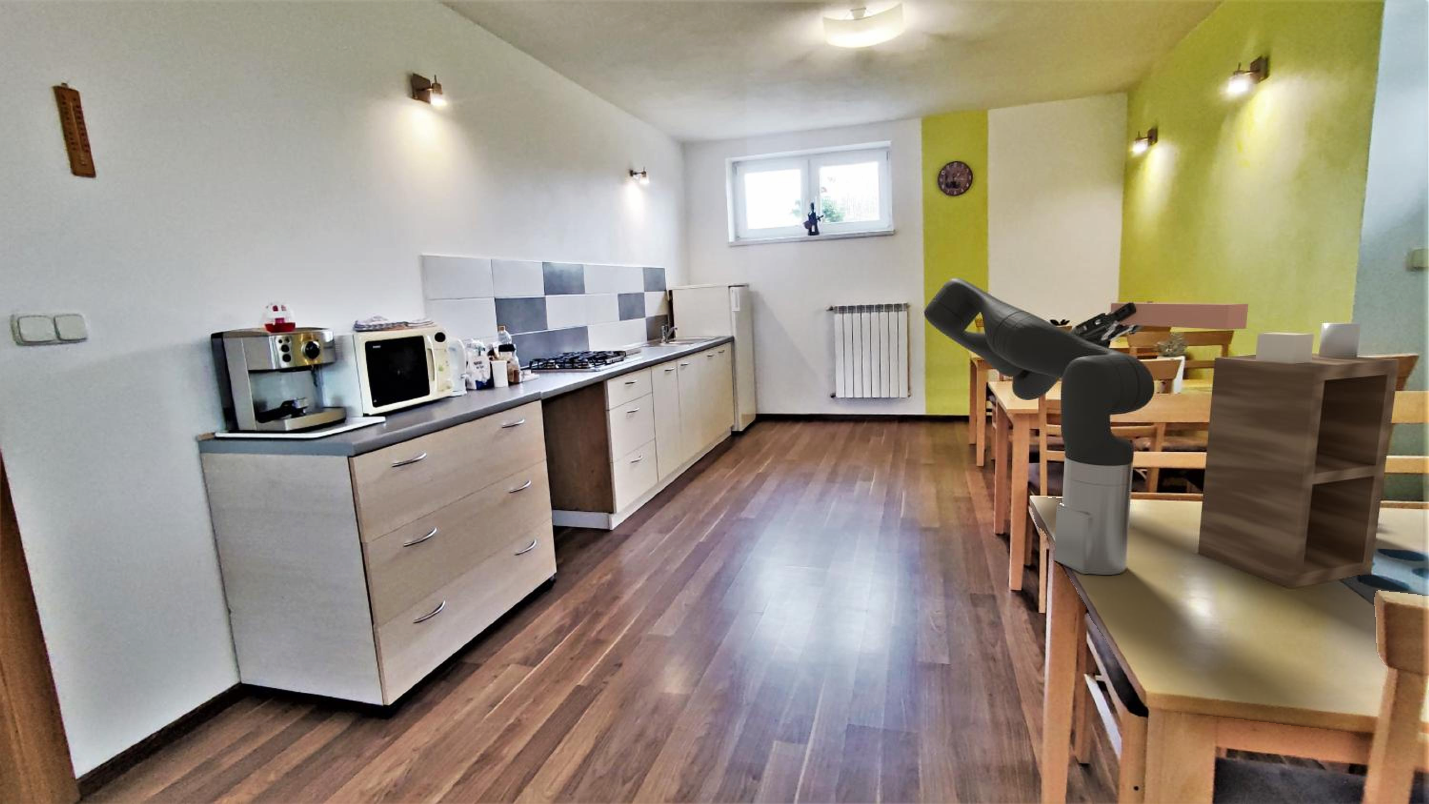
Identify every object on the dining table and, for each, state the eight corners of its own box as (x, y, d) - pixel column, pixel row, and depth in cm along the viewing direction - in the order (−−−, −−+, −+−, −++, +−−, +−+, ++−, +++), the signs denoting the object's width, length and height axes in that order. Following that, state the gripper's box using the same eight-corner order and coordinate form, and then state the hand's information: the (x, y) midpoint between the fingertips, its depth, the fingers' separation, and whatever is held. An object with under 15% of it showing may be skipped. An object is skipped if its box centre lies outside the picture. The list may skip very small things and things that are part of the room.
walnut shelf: (1290, 588, 95) (1315, 366, 90) (1197, 552, 109) (1214, 357, 104) (1371, 573, 99) (1399, 359, 94) (1272, 540, 113) (1292, 352, 108)
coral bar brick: (1226, 329, 108) (1229, 304, 107) (1109, 323, 130) (1111, 303, 129) (1245, 328, 109) (1248, 303, 108) (1126, 323, 131) (1127, 302, 130)
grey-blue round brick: (1343, 359, 97) (1347, 324, 96) (1311, 356, 101) (1314, 323, 100) (1364, 357, 98) (1368, 323, 97) (1331, 355, 102) (1335, 322, 101)
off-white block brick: (1291, 363, 94) (1294, 335, 93) (1255, 360, 99) (1257, 333, 98) (1310, 362, 95) (1314, 333, 94) (1273, 359, 100) (1276, 332, 99)
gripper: (1044, 331, 139) (1105, 289, 124) (1100, 328, 143) (1166, 287, 127) (1056, 364, 137) (1120, 325, 121) (1113, 360, 140) (1181, 322, 125)
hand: (1143, 306), depth 124 cm, fingers closed on coral bar brick, 4 cm apart
